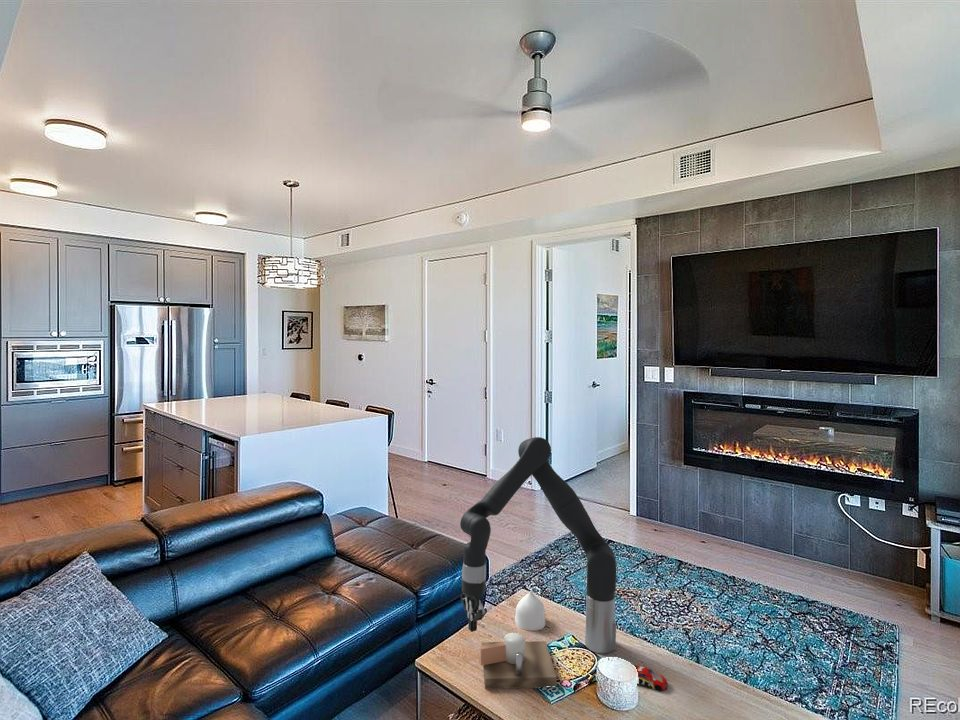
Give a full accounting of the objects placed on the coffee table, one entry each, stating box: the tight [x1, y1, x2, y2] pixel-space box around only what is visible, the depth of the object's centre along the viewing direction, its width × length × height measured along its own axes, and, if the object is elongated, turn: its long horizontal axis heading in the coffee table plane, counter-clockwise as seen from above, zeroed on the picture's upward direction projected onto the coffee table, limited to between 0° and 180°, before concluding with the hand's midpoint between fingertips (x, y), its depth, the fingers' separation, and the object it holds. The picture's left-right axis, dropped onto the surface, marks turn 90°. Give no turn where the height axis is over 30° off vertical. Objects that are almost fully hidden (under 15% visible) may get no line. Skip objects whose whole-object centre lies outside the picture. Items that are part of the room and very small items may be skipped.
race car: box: [633, 664, 668, 692], centre depth 153 cm, size 13×5×4 cm, turn 64°
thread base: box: [481, 640, 558, 690], centre depth 158 cm, size 21×18×9 cm
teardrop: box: [514, 589, 546, 631], centre depth 184 cm, size 11×11×12 cm
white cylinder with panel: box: [478, 632, 526, 666], centre depth 157 cm, size 14×6×6 cm, turn 107°
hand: (472, 630), depth 162 cm, fingers closed
